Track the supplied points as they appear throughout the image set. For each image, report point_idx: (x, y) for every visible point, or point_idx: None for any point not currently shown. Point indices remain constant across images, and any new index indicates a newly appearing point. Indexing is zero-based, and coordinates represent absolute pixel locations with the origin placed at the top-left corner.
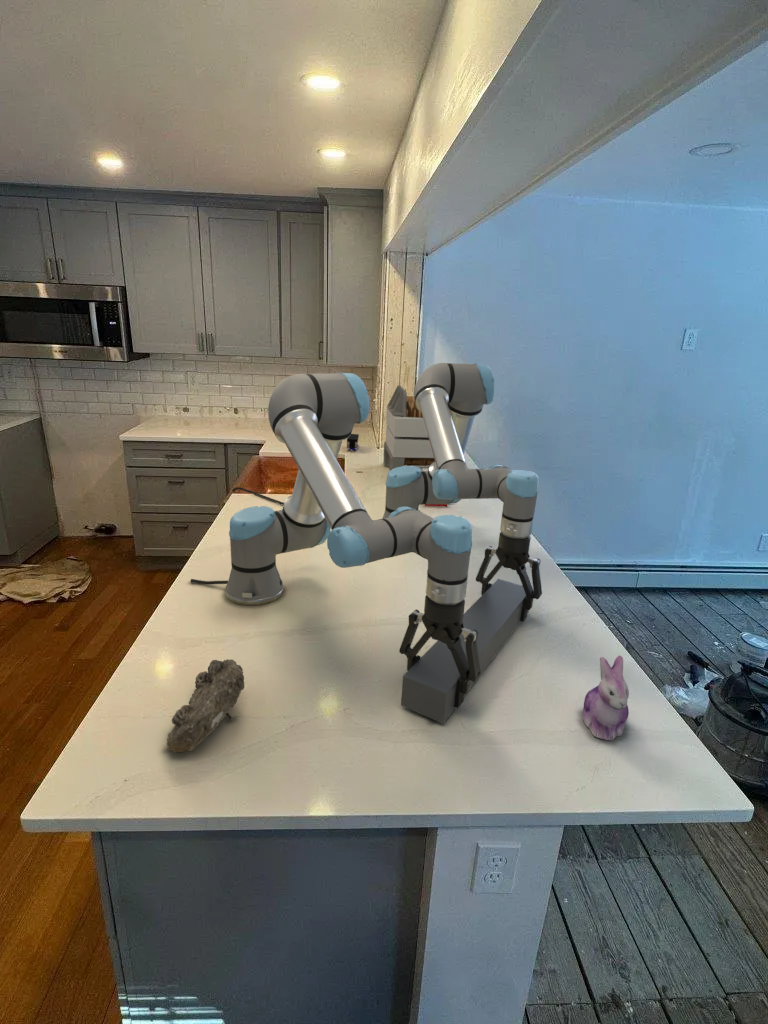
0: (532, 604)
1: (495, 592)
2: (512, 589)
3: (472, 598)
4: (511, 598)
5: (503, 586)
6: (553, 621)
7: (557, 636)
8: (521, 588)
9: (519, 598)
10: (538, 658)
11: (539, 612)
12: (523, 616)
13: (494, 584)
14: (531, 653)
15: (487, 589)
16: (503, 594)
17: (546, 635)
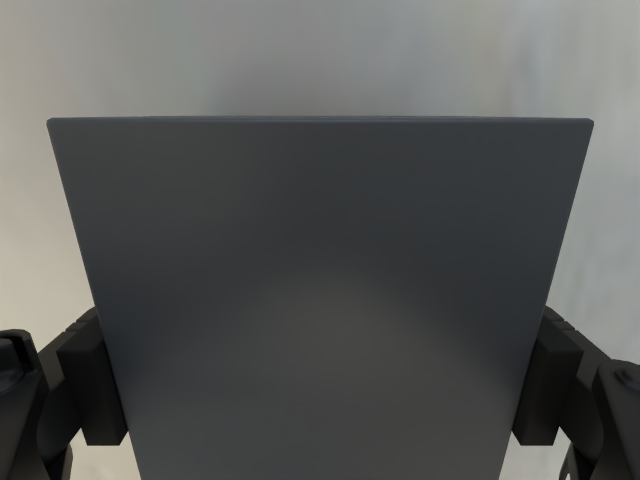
0: (565, 324)
1: (224, 455)
2: (349, 309)
3: (36, 119)
4: (400, 472)
5: (228, 303)
6: (614, 93)
7: (633, 256)
8: (445, 215)
9: (472, 437)
10: (546, 452)
11: (509, 18)
12: None
13: (116, 314)
14: (515, 438)
15: (126, 427)
16: (306, 449)
17: (572, 279)
